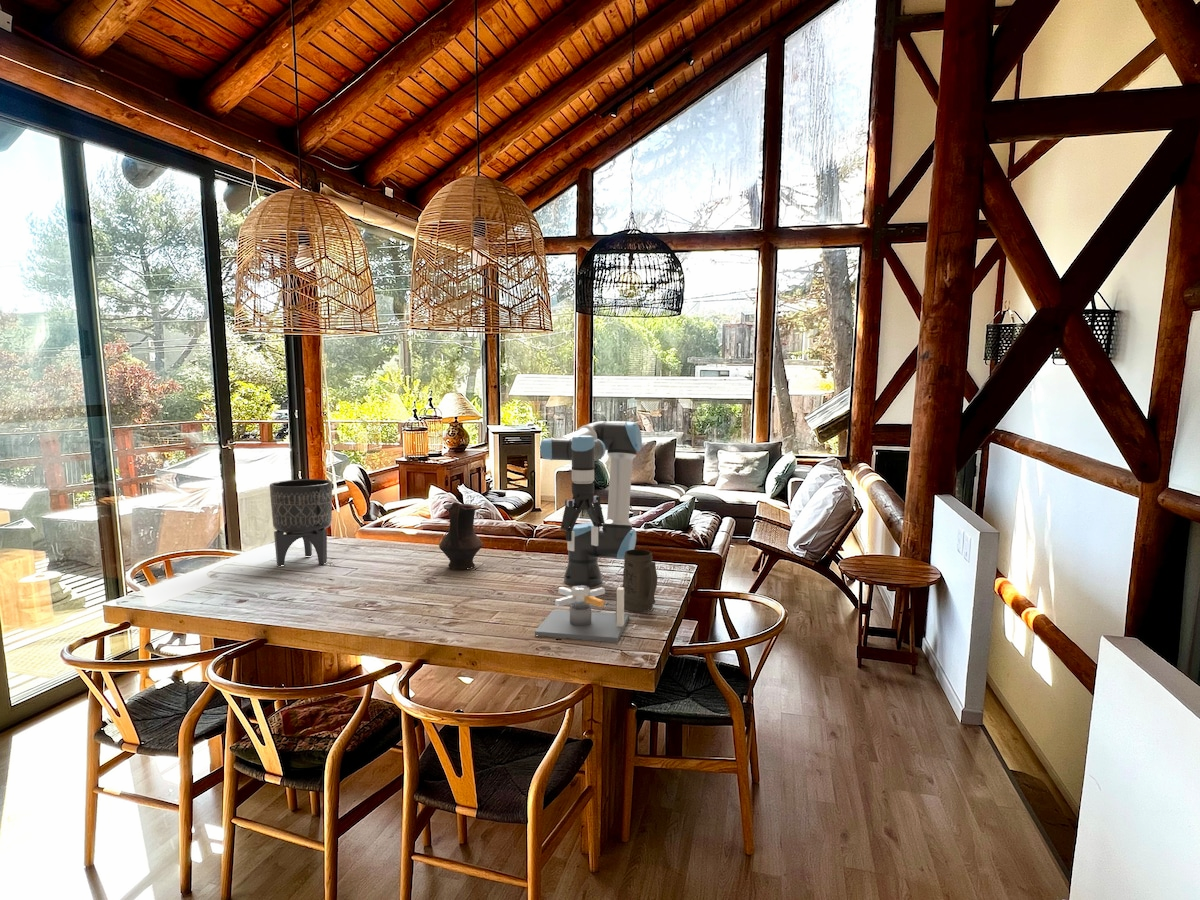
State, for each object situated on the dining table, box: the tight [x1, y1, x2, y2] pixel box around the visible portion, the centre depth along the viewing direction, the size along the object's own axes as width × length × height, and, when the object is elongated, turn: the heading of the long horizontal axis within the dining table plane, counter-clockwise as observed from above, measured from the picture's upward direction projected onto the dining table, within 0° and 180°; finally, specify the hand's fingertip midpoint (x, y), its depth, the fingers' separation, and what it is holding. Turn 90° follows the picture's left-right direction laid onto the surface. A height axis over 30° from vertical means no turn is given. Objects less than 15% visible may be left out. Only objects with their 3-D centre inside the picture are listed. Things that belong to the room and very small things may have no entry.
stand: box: [534, 586, 630, 643], centre depth 219 cm, size 22×26×14 cm
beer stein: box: [622, 548, 658, 612], centre depth 238 cm, size 15×11×20 cm
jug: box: [438, 501, 484, 570], centre depth 290 cm, size 21×18×30 cm
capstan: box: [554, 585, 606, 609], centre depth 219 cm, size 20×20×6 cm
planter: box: [269, 478, 333, 567], centre depth 298 cm, size 25×25×36 cm
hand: (582, 547), depth 227 cm, fingers open, 10 cm apart
